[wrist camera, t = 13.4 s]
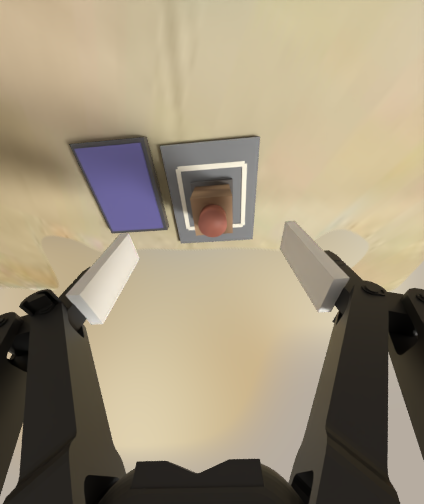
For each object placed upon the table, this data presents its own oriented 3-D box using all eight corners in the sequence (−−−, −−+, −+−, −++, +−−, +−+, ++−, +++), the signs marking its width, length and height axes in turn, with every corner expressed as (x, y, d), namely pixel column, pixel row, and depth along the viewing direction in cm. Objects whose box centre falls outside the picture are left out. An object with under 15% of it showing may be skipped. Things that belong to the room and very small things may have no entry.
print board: (181, 241, 29) (180, 243, 28) (161, 145, 21) (159, 145, 20) (251, 237, 28) (252, 239, 28) (258, 136, 20) (260, 136, 20)
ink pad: (115, 229, 28) (110, 234, 26) (76, 143, 21) (67, 144, 20) (169, 226, 27) (166, 230, 26) (146, 136, 20) (142, 137, 19)
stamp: (196, 219, 26) (190, 248, 19) (191, 181, 23) (181, 200, 16) (232, 216, 25) (238, 245, 19) (232, 177, 22) (239, 196, 16)
